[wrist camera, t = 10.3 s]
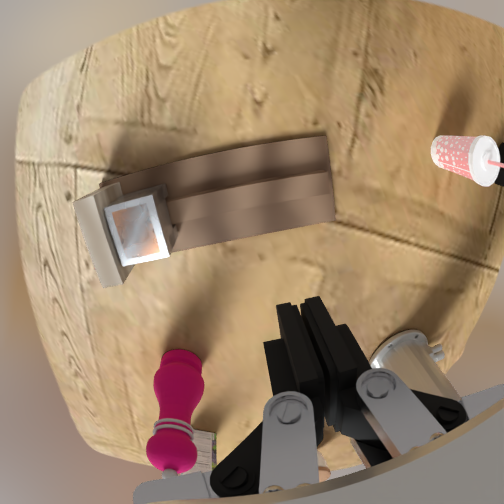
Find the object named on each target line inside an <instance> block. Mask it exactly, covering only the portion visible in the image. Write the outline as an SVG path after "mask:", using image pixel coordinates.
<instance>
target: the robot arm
mask: <svg viewBox="0 0 504 504" xmlns="http://www.w3.org/2000/svg"><path fill="white" fill-rule="evenodd" d="M276 309H277V315H278V322H279V328H280V335H281V339H276V340H271V341H266V342H263V344H264V349H265V354H266V360H267V365H268V371H269V376H270V381H271V387H272V392H273V397H272V398H271V399H269V400H268V402H267V403H266V405H265V407H264V411H263V421H262V422H261V423H260V424H259V425H258V426H257V427H256V428H255V429H254V430H253V432H252V433H251V434H250V435H249V436H248V437H247V438H246V439H245V440H244V441H242V442H241V443H240V444H239V445H238V446H237V447H236V448H235V449H234V450H233V451H232V452H231V453H230V454H229V455H228V456H227V457H226V458H225V459H224V460H222V461H221V462H220V463H219V464H218V465H217V466H216V467H215V468H214V470H212V471H208V472H204V473H202V471H198V472H194V473H190V474H185V475H180V476H175V477H170V478H165V479H159V480H153V481H147V482H144V483H141V484H140V485H139V486H138V487H136V489H135V491H134V493H133V502H134V504H504V384H502V385H497V386H494V387H492V388H489V389H486V390H483V391H480V392H477V393H474V394H471V395H468V396H464V397H460V395H459V394H458V392H457V391H456V390H455V388H454V387H453V386H452V384H451V383H450V381H449V380H448V379H447V377H446V376H445V375H444V373H443V372H442V371H441V369H440V368H439V367H438V365H437V364H436V363H435V362H437V361H439V360H441V359H443V358H444V352H443V350H442V345H441V344H437V345H435V346H433V347H429V346H428V341H427V338H426V336H425V335H424V334H423V333H422V332H421V331H419V330H406V331H403V332H400V333H398V334H396V335H394V336H392V337H391V338H389V339H388V340H387V341H385V342H384V343H383V344H382V345H381V346H380V347H379V348H378V349H377V350H376V352H375V353H374V354H373V356H372V357H371V359H370V361H369V362H368V360H367V358H366V357H365V355H364V353H363V351H362V350H361V348H360V346H359V345H358V343H357V341H356V339H355V338H354V336H353V334H352V332H351V331H350V329H349V327H348V326H347V325H346V324H342V325H338V326H335V324H334V322H333V320H332V318H331V316H330V315H329V313H328V311H327V309H326V307H325V305H324V304H323V302H322V300H321V298H320V297H319V296H317V297H312V298H307V299H305V303H302V304H300V309H301V315H300V312H299V310H298V307H297V305H293V306H292V305H291V303H290V302H289V303H284V304H279V305H276ZM324 416H325V419H326V422H327V425H328V426H332V425H333V427H334V430H335V432H338V431H340V432H341V434H343V435H346V436H348V437H349V439H350V442H351V444H352V445H353V447H354V449H355V451H356V452H357V454H358V456H359V457H360V459H361V461H362V462H363V464H364V466H365V467H366V469H364V470H361V471H358V472H355V473H352V474H349V475H345V476H342V477H338V478H335V479H331V480H327V481H324V482H320V483H319V471H318V457H317V446H318V445H319V444H320V442H321V441H322V440H323V428H324Z"/></svg>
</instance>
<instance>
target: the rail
mask: <svg viewBox="0 0 504 504" xmlns="http://www.w3.org/2000/svg"><path fill="white" fill-rule="evenodd" d="M161 184H166V188H167V192H168V196H167V197H166V198H165V200H166V204H167V208H168V212H169V216H170V219H171V223H172V225H174V224H176V227H177V231H178V238H177V240H176V242H175V245H174V247H173V250H172V252H177V251H182V250H187V249H191V248H196V247H201V246H206V245H211V244H216V243H221V242H226V241H231V240H236V239H241V238H246V237H251V236H256V235H261V234H266V233H272V232H277V231H282V230H287V229H292V228H298V227H303V226H308V225H314V224H319V223H324V222H330V221H335V220H336V219H335V207H334V196H333V186H332V177H331V168H330V160H329V152H328V144H327V137H326V136H317V137H308V138H300V139H292V140H285V141H278V142H271V143H265V144H259V145H253V146H247V147H242V148H236V149H231V150H226V151H221V152H216V153H211V154H207V155H202V156H197V157H193V158H189V159H184V160H180V161H176V162H172V163H168V164H164V165H160V166H157V167H153V168H149V169H146V170H142V171H138V172H135V173H131V174H128V175H125V176H121V177H118V178H115V179H112V180H109V181H105V182H102V183H100V184H99V186H100V189H98V190H96V191H94V192H92V193H90V194H88V195H86V196H84V197H82V198H80V199H78V200H76V201H74V202H73V205H74V209H75V212H76V215H77V219H78V222H79V225H80V228H81V231H82V234H83V237H84V240H85V243H86V246H87V248H88V251H89V254H90V257H91V259H92V262H93V265H94V267H95V270H96V272H97V275H98V277H99V280H100V282H101V285H102V287H103V288H106V287H111V286H116V285H122V284H123V283H124V282H125V280H126V278H127V277H128V275H129V273H130V272H131V270H132V268H133V267H134V265H135V264H132V265H127V266H122V263H121V261H120V258H119V255H118V252H117V249H116V246H115V243H114V240H113V237H112V234H111V231H110V228H109V225H108V221H107V218H106V215H105V211H104V208H105V207H106V206H107V205H109V204H110V203H112V202H113V201H115V200H116V199H118V198H119V197H121V196H123V195H124V194H128V193H131V192H135V191H139V190H142V189H146V188H150V187H154V186H158V185H161ZM172 252H171V253H172Z"/></svg>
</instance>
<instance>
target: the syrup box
mask: <svg viewBox="0 0 504 504" xmlns="http://www.w3.org/2000/svg"><path fill="white" fill-rule="evenodd" d="M193 435H194V440H193V441H192V442H193V443H194V444H195V446H196V448H197V453H198V456H197V461H196V463H195V465H194V466H193V468H191V469H190V470H188V471H186V472H183V473H181V475H185V474H190V473H194V472H198V471H202V473H204V472H208V471H212V470H214V468H215V467H216V466H217V460H216V433H212V432H206V431H200V430H195V429H194V434H193Z"/></svg>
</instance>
